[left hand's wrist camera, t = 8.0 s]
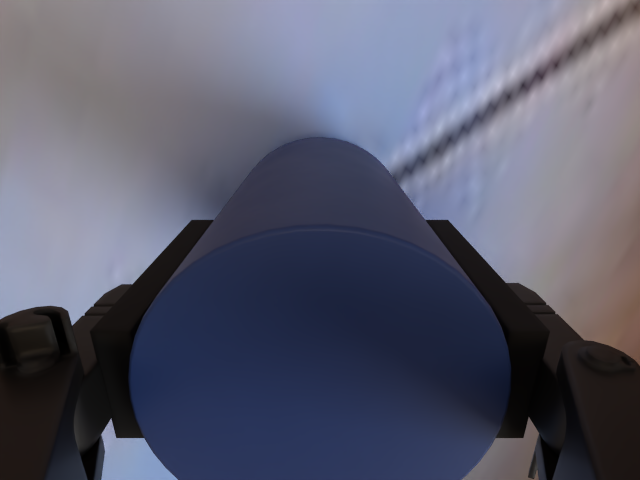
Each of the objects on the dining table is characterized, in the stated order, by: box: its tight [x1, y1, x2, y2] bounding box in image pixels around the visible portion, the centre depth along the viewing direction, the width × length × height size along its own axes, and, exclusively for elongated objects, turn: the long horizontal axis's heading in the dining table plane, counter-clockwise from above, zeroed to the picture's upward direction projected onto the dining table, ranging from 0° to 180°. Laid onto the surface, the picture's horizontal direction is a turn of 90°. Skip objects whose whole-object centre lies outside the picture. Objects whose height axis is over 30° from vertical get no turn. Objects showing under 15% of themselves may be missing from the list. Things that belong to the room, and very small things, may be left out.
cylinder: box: [128, 138, 511, 480], centre depth 12 cm, size 7×7×11 cm
